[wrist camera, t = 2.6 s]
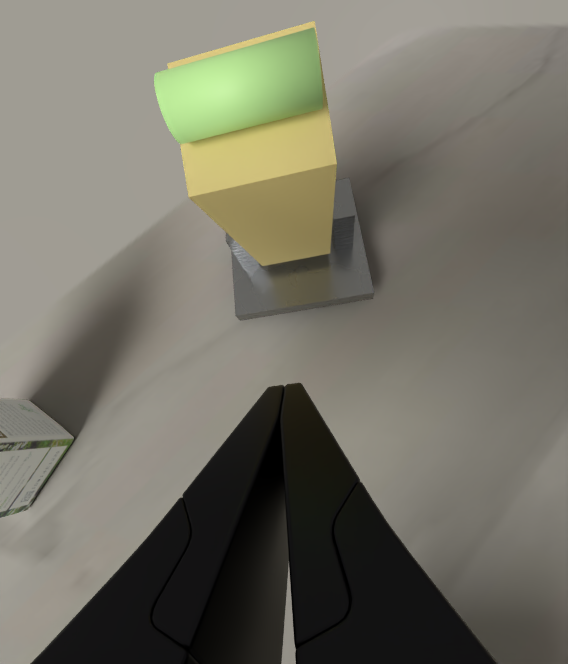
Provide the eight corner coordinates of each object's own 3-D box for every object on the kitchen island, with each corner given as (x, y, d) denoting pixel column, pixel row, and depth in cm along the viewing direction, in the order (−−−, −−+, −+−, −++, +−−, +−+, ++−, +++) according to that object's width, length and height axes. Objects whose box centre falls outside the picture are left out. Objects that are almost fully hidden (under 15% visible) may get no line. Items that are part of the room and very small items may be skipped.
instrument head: (330, 253, 19) (339, 127, 7) (262, 266, 20) (159, 170, 8) (320, 190, 19) (312, -49, 7) (252, 205, 20) (134, 9, 8)
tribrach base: (371, 304, 21) (380, 267, 16) (244, 324, 22) (217, 297, 17) (348, 197, 24) (350, 138, 19) (236, 220, 25) (211, 171, 20)
